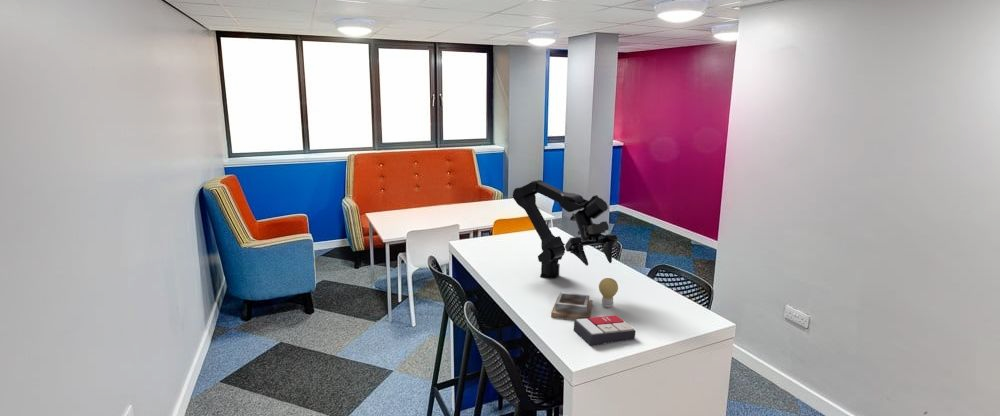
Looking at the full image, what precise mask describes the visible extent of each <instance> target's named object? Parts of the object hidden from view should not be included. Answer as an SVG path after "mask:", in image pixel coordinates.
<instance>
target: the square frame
mask: <svg viewBox="0 0 1000 416" xmlns="http://www.w3.org/2000/svg"><path fill="white" fill-rule="evenodd" d="M593 302H594V301H593V300H591V299H590V295H589V294H580V293H579V294H578V293H572V292H565V291H563V292H562V291H560V292H559V294H558V296H557V297H556V300H555V303H554V305H553V306H552V310H551V312H550V318H556V319H557V318H558V319H563V320H564V319H565V320H573V321H574V320H577V319H589V318H591V317H590V315H591V312H592V308H593Z"/></svg>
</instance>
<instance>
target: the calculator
mask: <svg viewBox="0 0 1000 416" xmlns="http://www.w3.org/2000/svg"><path fill="white" fill-rule="evenodd" d="M573 321H574V322H573V333H575V334H577V335H578V336H579V337H580V338H581V340H583V341H584V342H585V343H586V344H587V345H588V346H589V347H596V346H602V345H604V344H610V343H611V344H612V343H620V342H625V341H626V342H627V341H632V340H636V339H635V338H636V330H635V329H634V327H633V326H631V325H630V324H628V323H627V322H625V320H623V319H622V318H620V317H619V316H618V315H617V314H614V315H604V316H592V317H589V319H577V320H573Z"/></svg>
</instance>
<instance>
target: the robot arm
mask: <svg viewBox="0 0 1000 416" xmlns="http://www.w3.org/2000/svg"><path fill="white" fill-rule="evenodd" d="M537 194H540V195H542V196H544V197H546V198H549V199H550V200H552V201H554V202H557V203H558V204H559V206H560V208H562V209H563V210H565V212H568V213H571V212H572V214H571V216H570V219H569V220H570V221H572V222H575V223H576V226H577V229H578V231H577V235H579V236H575V237H574V236H573V237H570V238H569V239H568V240H567V241H566V243H564V242H563V240H562V238H561V236H560V235H558V236H555V235H554V234H553V233H552V231H551V229H550V228H549V226H548V224H547V221H546V220H545V218H544V217H543V215H542V213H541V211H540V209H539V207H538V206H537V203H536V200H537V198H536V195H537ZM512 198H513V200H514V201H515V203H516V204H517V206H519V207H520V208H522V209H523V210H524V212H525V213H526V215H527V217H528V219H529V220H530V222H531V224H532V226H533V227H534V230H535V231H536V233H537V235H538V237H539V239H540V240H541V243H540V244H541V245H540V247H541V251H542V252H541V253H540V254H538V255H537V259H538V260H537V261H538V262H539V263H541V268H540V269H541V272H540V275H539V277H540V278H546V279H558V276H559V275H560V270H561V269H560V268H561V267H560V266H561V265H560V263H559V261H560V260H562V259H563V256H564V255H565V254H566V253H565V251H566V252H567V253H568V252H569V253H570V254H573V255H574V256H575V257H577V258H578V259H579V260H580V262H582V263H583V264H584V265H585V266H589V261H588V258H587V255H586V253H585V250H584V246H585V247H586V246H594V245H601V247H602V251H603V253H604V255H605V257H606V259H607V262H608V264H611V263H612V262H613V247H614V246H615V245H616V243H617V242H618V241H619V238H618V235H617V234H615V233H608V234H605V233H606V231H609V229H610V226H609V223H608V222H607V221H606V220H605V221H602V222H600V223H595V222H593V220H596V219H598V218H599V217H600V216H601V215H602V214H605V212H606V211H608V209H609V206H608V203H607V202H606V201H605V200H604V199H603V198H601V197H599V196H598V195H597V194H595V195H592V197H591V198H590V199H589V200H588V199H585V198H584V197H583V196H582V195H580V194H577V193H572V192H565V191H563V190H561V189H559V188H557V187H555V186H553V185H550V184H549V183H546V182H544V181H543V180H542V179H538V180H532V181H531V182H529V183H527V184H525V185H523V186H520V187H516V188H514V190H513V193H512ZM574 212H575V213H574ZM603 233H604V234H605V235H604V237H602V238H599V237H601V236H602V234H603Z"/></svg>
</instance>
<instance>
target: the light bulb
mask: <svg viewBox="0 0 1000 416" xmlns="http://www.w3.org/2000/svg"><path fill="white" fill-rule="evenodd" d="M598 290H599V293H600V294H601V296H602V297H601V299H602V300H601V306H602V307H604V308H606V309H607V308H609V309H610V308H611V307H613V306H614V296H616V294H617V293H618V291H619V286H618V281H616V280H615V279H614V278H611V277H606V278H605V277H604V278H602V279H601V280H600V282H599V284H598Z"/></svg>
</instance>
